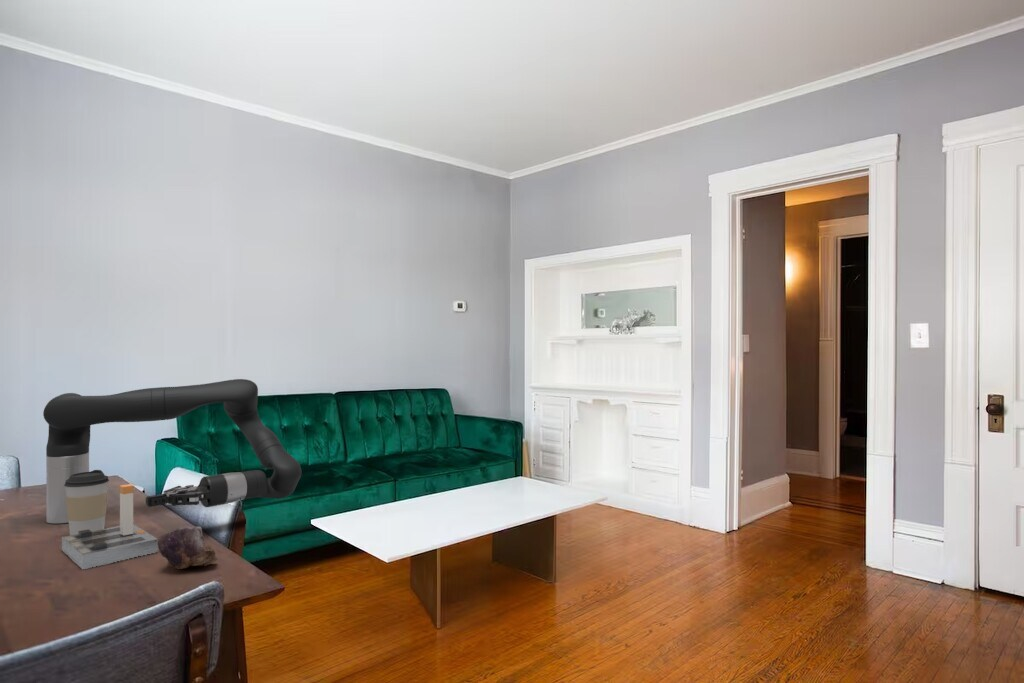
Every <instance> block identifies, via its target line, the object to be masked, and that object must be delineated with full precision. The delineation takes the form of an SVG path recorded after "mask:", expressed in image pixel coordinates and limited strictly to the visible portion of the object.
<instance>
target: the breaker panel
mask: <svg viewBox="0 0 1024 683" xmlns="http://www.w3.org/2000/svg"><path fill="white" fill-rule="evenodd" d="M158 540H159V539H158V538H157V537H156V536H154V535H152V534H151V533H149V532H147V531H145V530H144V529H142V528H140V527H139V526H137V525H136V524H134V523H133V534H129V535H124V536H123V535H121V534H120V525H117V526H111V527H107V528H105V527H104V529H100V530H95V531H90V530H89V529H88V530H82V531H78V534H74V535H70V534H69V535H64V536H61V551H62V552H63V553H64V554H65V555H66V556H67V555H68V556H67V557H69V559H70V560H72V562H74V564H75V565H77V566H78V567H79V568H80V569H81V570H83V569H84V570H89V569H92V567H93V568H96V566H97V567H100V566H106V565H109V564H110V565H111V564H114V563H113V562H115V563H118V562H117V561H119V562H121V561H120V560H123V561H126V560H125V559H128V560H130V559H129V558H132V559H135V558H134V557H137V558H139V557H138V556H141V557H144V556H143V555H145V556H148V555H147V554H150V555H152V554H151V553H154V554H156V553H155V552H158V553H159V547H158ZM84 570H83V571H84Z"/></svg>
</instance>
